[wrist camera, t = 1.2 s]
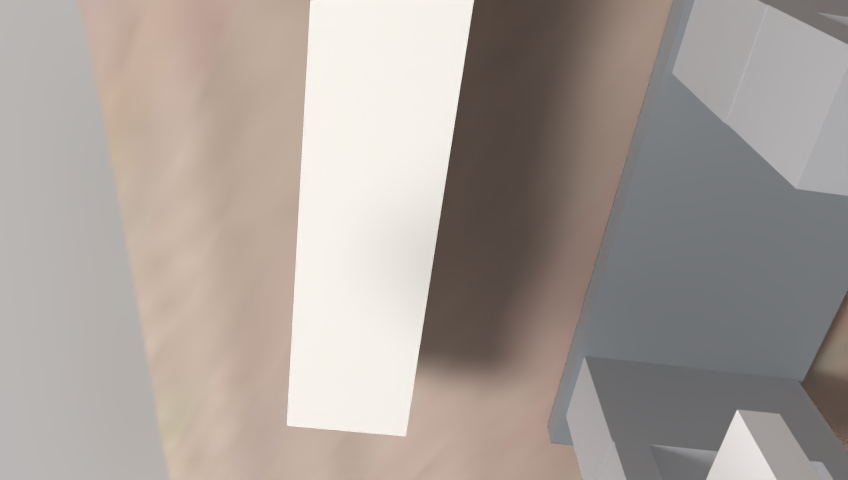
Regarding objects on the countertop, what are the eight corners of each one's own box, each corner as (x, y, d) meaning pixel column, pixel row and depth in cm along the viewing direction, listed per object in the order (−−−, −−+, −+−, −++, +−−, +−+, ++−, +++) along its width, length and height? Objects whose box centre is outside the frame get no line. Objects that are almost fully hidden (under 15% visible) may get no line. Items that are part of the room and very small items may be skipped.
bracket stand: (699, -88, 22) (874, -36, 14) (985, -41, 23) (1315, 34, 14) (547, 426, 32) (595, 640, 23) (752, 447, 32) (870, 662, 24)
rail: (340, -186, 21) (320, -190, 17) (481, -165, 21) (499, -163, 17) (305, 337, 30) (286, 425, 25) (407, 346, 30) (405, 436, 25)
